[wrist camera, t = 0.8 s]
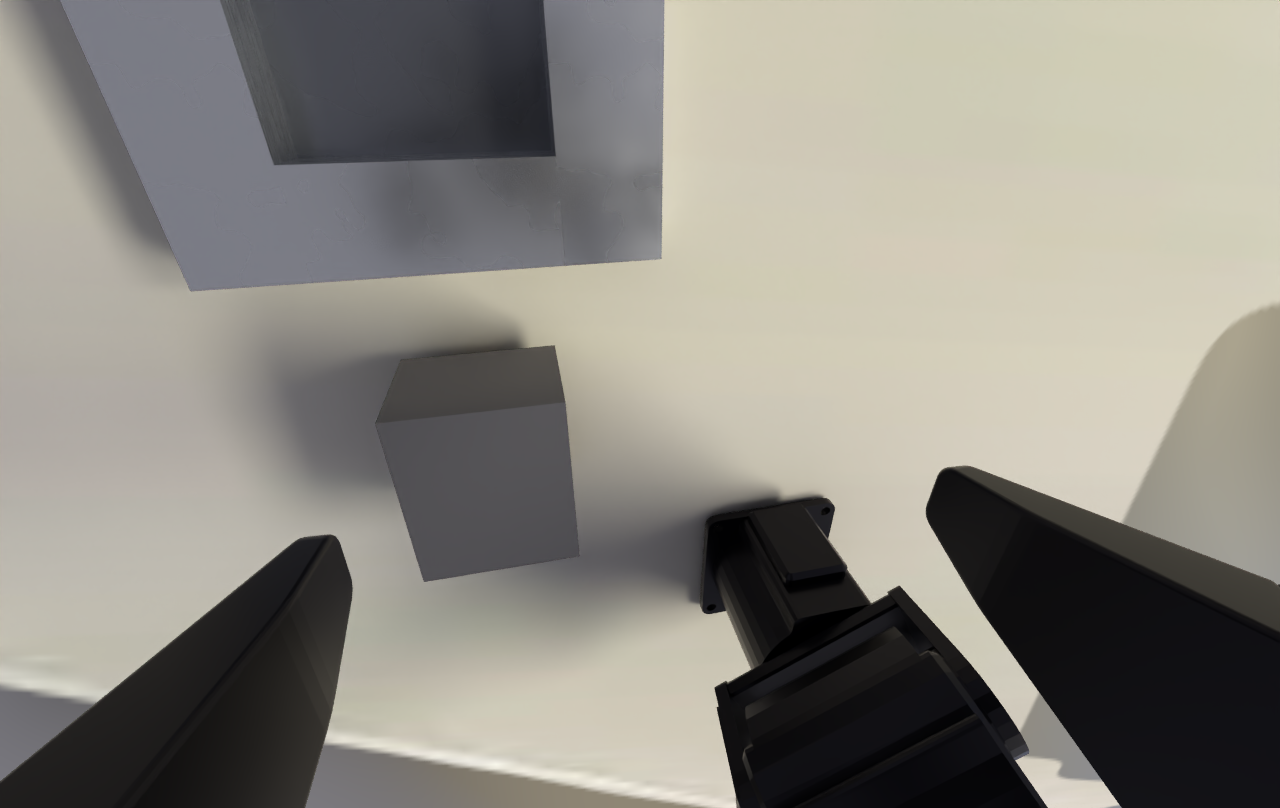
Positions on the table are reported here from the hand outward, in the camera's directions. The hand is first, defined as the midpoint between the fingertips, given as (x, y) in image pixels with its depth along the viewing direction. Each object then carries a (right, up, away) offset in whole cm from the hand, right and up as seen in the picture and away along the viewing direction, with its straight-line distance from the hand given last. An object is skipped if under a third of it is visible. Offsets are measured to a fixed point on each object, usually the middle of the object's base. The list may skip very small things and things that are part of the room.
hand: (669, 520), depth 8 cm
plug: (-6, +1, +12) cm, 14 cm away
